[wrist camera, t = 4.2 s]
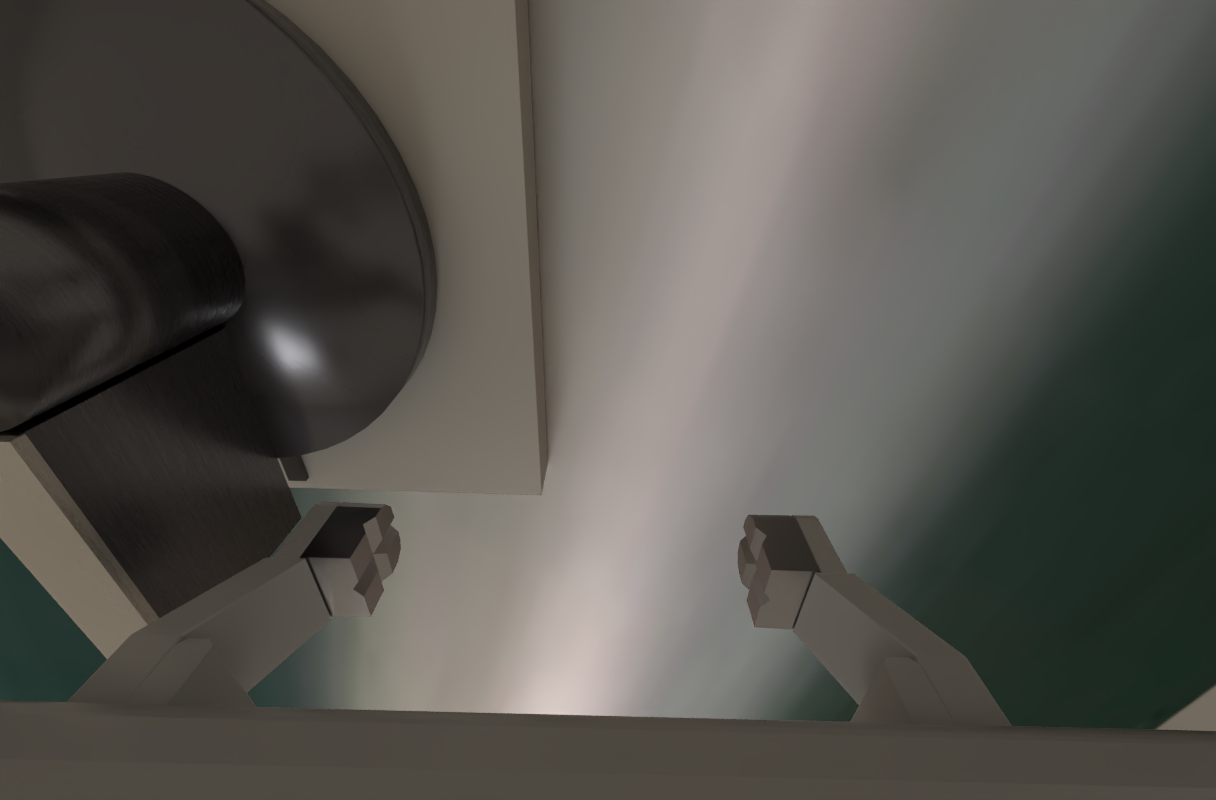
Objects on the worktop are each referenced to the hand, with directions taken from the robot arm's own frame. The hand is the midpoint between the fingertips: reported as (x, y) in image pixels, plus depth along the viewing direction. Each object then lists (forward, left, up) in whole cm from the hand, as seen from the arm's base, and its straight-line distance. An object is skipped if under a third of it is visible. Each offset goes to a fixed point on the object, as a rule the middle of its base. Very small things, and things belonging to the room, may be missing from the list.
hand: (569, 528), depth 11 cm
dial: (+8, -5, -2) cm, 10 cm away
